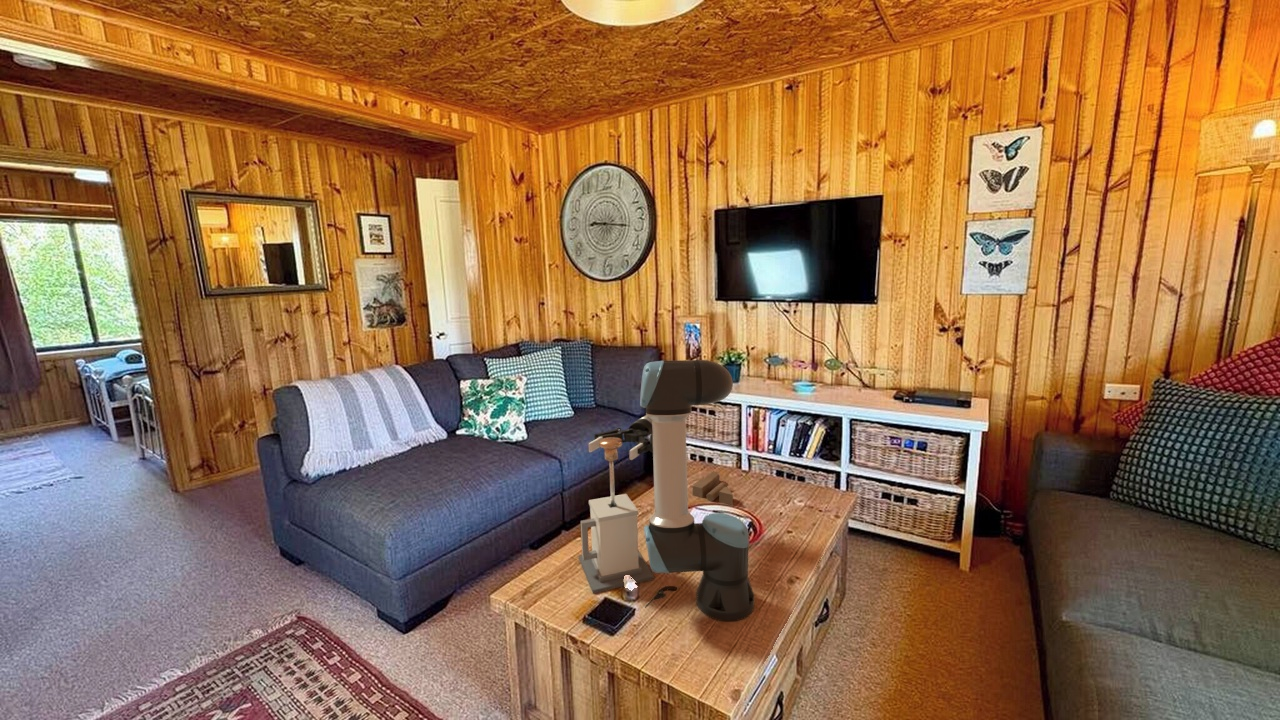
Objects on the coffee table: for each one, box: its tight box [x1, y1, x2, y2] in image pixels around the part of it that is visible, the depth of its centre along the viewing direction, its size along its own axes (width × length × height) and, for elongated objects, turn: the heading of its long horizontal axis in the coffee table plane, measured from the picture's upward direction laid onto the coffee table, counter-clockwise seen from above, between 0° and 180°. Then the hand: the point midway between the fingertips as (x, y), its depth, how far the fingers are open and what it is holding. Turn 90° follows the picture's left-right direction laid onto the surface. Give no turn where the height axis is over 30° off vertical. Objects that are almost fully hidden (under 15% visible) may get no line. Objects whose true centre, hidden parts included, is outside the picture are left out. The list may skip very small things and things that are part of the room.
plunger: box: [599, 437, 623, 508], centre depth 146 cm, size 6×6×23 cm
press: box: [580, 493, 642, 582], centre depth 149 cm, size 12×16×19 cm
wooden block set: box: [691, 470, 734, 507], centre depth 199 cm, size 17×6×18 cm
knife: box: [644, 585, 678, 609], centre depth 137 cm, size 14×4×1 cm, turn 147°
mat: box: [578, 550, 655, 594], centre depth 151 cm, size 18×18×1 cm
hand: (609, 451), depth 145 cm, fingers open, 13 cm apart
